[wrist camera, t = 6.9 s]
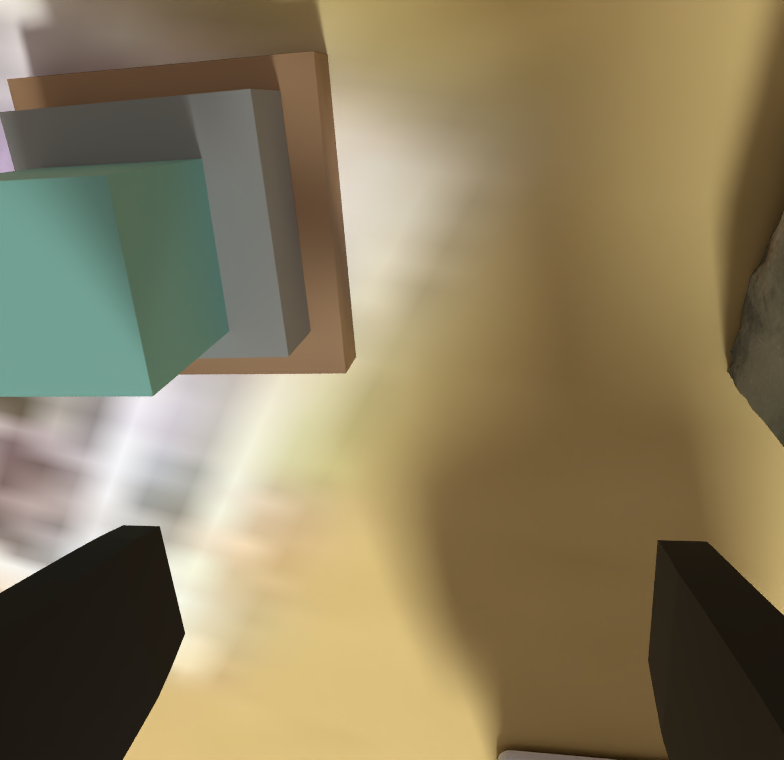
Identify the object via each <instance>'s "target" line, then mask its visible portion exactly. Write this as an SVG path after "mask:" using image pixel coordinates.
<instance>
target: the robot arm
mask: <svg viewBox="0 0 784 760" xmlns="http://www.w3.org/2000/svg"><path fill="white" fill-rule="evenodd" d="M184 635H185V631H184V627H183V623H182V618H181V614H180V610H179V606H178V602H177V597H176V593H175V589H174V585H173V580H172V576H171V572H170V568H169V564H168V559H167V555H166V551H165V547H164V542H163V538H162V534H161V530H160V526H126V525H123V526H121V527H119V528H117V529H115V530H112V531H110V532H108V533H106V534H104V535H102V536H100V537H98V538H96V539H95V540H93V541H91V542H89V543H87V544H85V545H83V546H82V547H80V548H78V549H76V550H74V551H73V552H71V553H69V554H67V555H66V556H64V557H62V558H60V559H59V560H57V561H55V562H53V563H52V564H50V565H48V566H46V567H45V568H43V569H41V570H39V571H38V572H36V573H34V574H33V575H31V576H29V577H27V578H26V579H24V580H22V581H20V582H19V583H17V584H15V585H13V586H12V587H10V588H8V589H6V590H5V591H3V592H1V593H0V760H123V758H124V756H125V755H126V753H127V751H128V750H129V748H130V746H131V744H132V743H133V741H134V739H135V737H136V736H137V734H138V732H139V730H140V729H141V727H142V725H143V724H144V722H145V720H146V718H147V717H148V715H149V713H150V711H151V709H152V708H153V706H154V704H155V702H156V700H157V699H158V697H159V695H160V692H161V690H162V688H163V685H164V683H165V681H166V679H167V676H168V674H169V672H170V670H171V667H172V665H173V662H174V660H175V657H176V655H177V652H178V650H179V647H180V645H181V642H182V640H183V637H184ZM648 662H649V667H650V673H651V679H652V684H653V690H654V696H655V702H656V707H657V712H658V717H659V722H660V728H661V733H662V737H663V741H664V744H665V748H666V751H667V754H668V758H669V760H784V615H783V614H782V613H781V612H780V611H778V610H777V609H776V608H775V607H774V606H773V605H772V604H771V603H770V602H769V601H768V600H767V599H766V598H765V597H764V596H763V595H762V594H761V593H760V592H758V591H757V590H756V589H755V588H754V587H753V586H752V585H751V584H750V583H749V582H748V581H747V580H746V579H745V578H744V577H743V576H742V575H741V574H740V573H739V572H738V571H737V570H736V569H735V568H734V567H733V566H732V565H731V564H730V563H729V562H727V561H726V560H725V559H724V558H723V557H722V556H721V555H720V554H719V553H718V552H717V551H716V550H715V549H714V548H713V547H712V546H711V545H710V544H709V543H708V542H701V541H665V540H658V545H657V557H656V570H655V582H654V595H653V607H652V620H651V632H650V645H649V657H648ZM498 760H615V759H604V758H593V757H582V756H571V755H560V754H549V753H538V752H526V751H515V750H507V751H504V752H502V753H501V754H500V755H499V756H498Z"/></svg>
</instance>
